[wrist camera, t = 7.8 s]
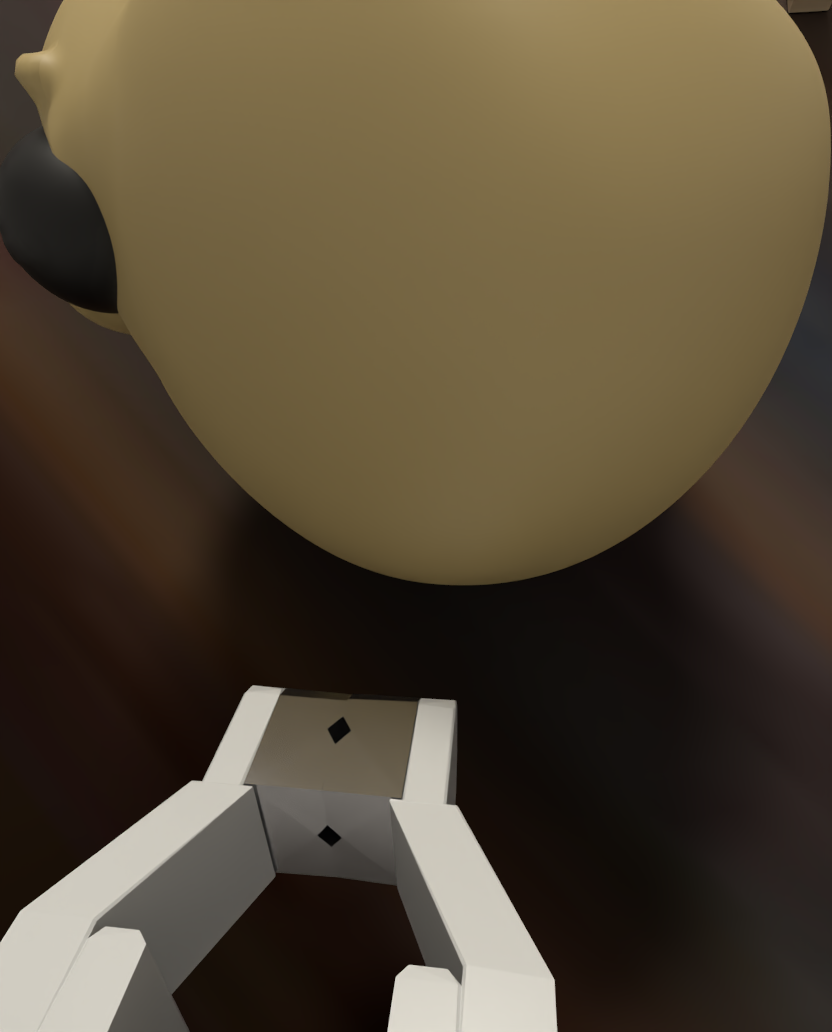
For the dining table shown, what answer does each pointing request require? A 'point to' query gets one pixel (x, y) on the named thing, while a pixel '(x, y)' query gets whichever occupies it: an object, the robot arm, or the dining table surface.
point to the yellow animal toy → (435, 250)
